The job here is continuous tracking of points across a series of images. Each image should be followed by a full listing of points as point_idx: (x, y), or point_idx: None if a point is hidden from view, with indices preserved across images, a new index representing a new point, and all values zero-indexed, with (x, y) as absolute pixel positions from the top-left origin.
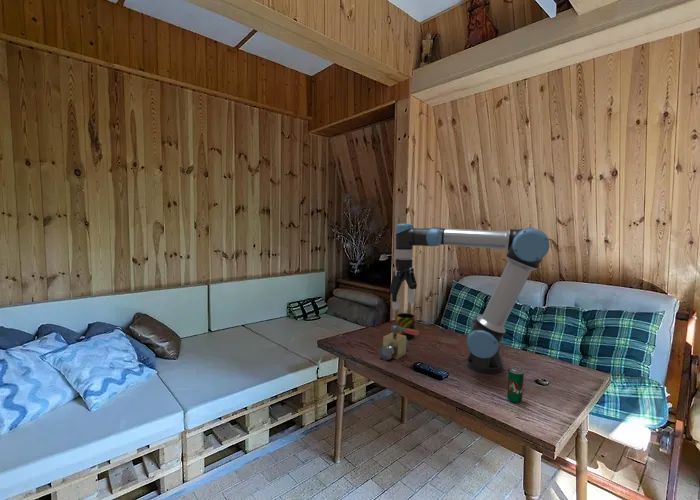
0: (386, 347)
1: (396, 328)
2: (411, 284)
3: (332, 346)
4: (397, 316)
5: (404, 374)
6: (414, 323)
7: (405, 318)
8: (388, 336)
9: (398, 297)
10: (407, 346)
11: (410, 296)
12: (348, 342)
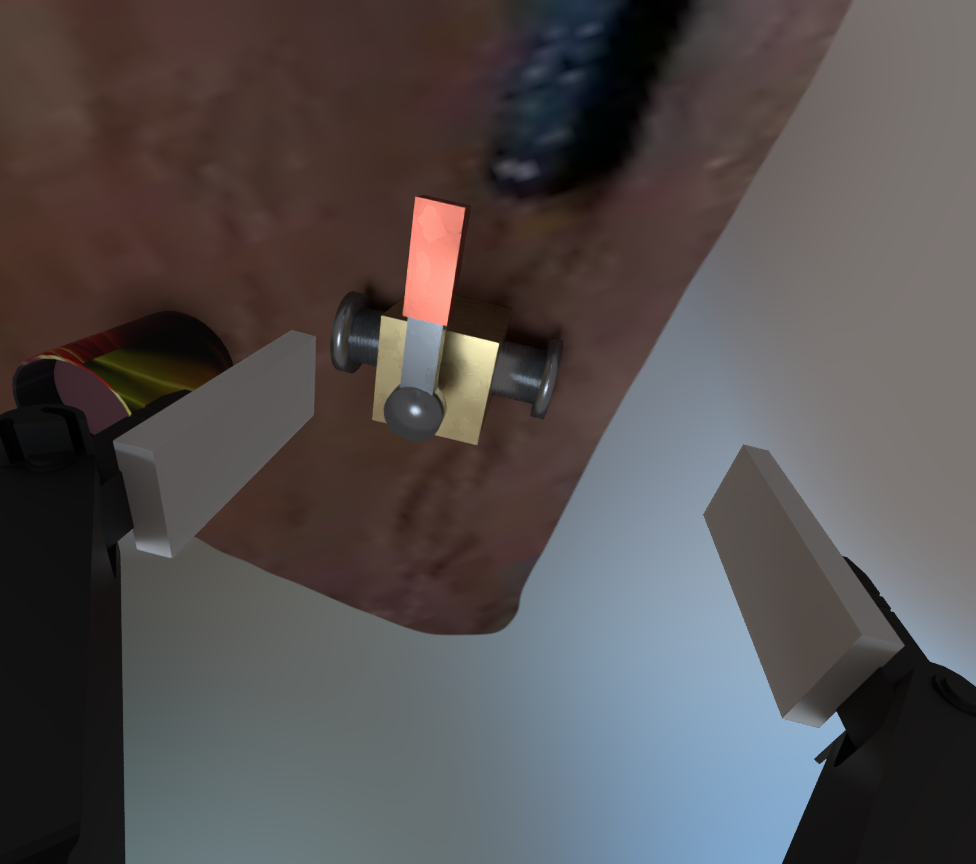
0: (553, 387)
1: (435, 395)
2: (95, 586)
3: (509, 606)
4: None
5: (701, 206)
6: (89, 338)
7: (128, 405)
8: (456, 418)
9: (831, 579)
10: (364, 296)
11: (260, 426)
12: (432, 569)
